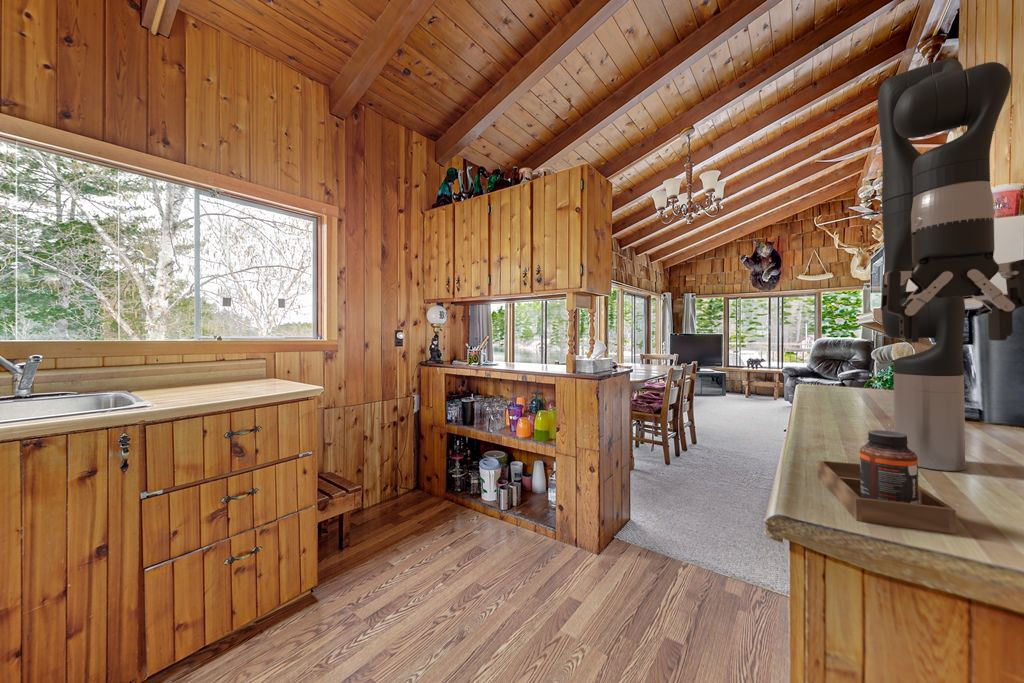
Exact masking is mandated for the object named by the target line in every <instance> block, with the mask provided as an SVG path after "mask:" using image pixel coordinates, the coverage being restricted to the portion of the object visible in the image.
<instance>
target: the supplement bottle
mask: <svg viewBox="0 0 1024 683" xmlns="http://www.w3.org/2000/svg"><path fill="white" fill-rule="evenodd" d="M867 433H868V434H867V436H868V437H867V440H868V441H867V443H865V444H863V445H862V446H860V448H859V449H860V450H859V464H860V480H861V481H860V482H861V498H868V499H877V500H885V501H894V502H903V503H911V504H919V496H918V495H919V492H918V485H919V467H918V459H917V455H916V454H915V453H914V452H913V451H911V450H909V449H908V447H907V444H908V442H907V435H905V434H903V433H899V432H895V431H892V430H891V431H890V430H880V429H877V430H876V429H875V430H874V429H873V430H869V431H868V432H867Z"/></svg>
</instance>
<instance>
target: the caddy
mask: <svg viewBox="0 0 1024 683" xmlns="http://www.w3.org/2000/svg"><path fill="white" fill-rule="evenodd" d="M817 478H818V479H819V480H820V481H821V482H822V483H823V484H824V485H825V487H826V488H827V489H828V490H829V491H830V493H832V494H833V496H834V497H835V498H836V499H837V500H838V501H839V502H840V503H841V505H842V506H843V508H845V509H846V511H848V513H849V514H850V515H851V516H852V518H854V519H855V521H858V522H865V523H871V524H881V525H887V526H895V527H902V528H907V529H908V528H911V529H915V530H926V531H934V532H937V533H939V532H940V533H947V534H954V535H956V534H957V523H956V522H957V520H956V519H957V518H956V515H957V514H956V513H957V512H956V509H955V508H953V507H951V505H948V504H947V503H945V502H944V501H943V500H941V499H940V498H938V497H937V496H935V495H933V494H932V493H931V492H929V491H927V490H926V489H924V488H923V487H922V486H920V485H919V484H918V492H919V495H918V496H919V504H911V503H903V502H894V501H885V500H877V499H868V498H861V482H860V481H861V480H860V463H854V462H842V461H831V460H821V459H820V460H819V459H817Z"/></svg>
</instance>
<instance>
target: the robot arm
mask: <svg viewBox="0 0 1024 683" xmlns="http://www.w3.org/2000/svg"><path fill="white" fill-rule="evenodd" d="M963 67H964V66H963V65H962V63H961V62H960V61H959V60H958V59H955V58H944V59H940V60H936V61H933V62H931V63H927V64H925V65H922V66H919V67H915V68H913V69H910V70H907V71H903V72H901V73H898V74H896V75H893V76H890V77H888V78H886V79H884V81H883V82H882V84H881V85H880V87H879V88H878V89H879V90H878V94H877V116H878V124H879V125H878V127H879V137H880V145H881V148H880V149H881V159H882V160H881V161H882V179H881V180H882V184H881V186H882V187H881V219H882V221H881V222H882V234H883V235H882V236H883V254H884V255H883V256H884V257H883V258H884V266H883V274H882V282H881V299H880V300H881V302H880V310H881V325H882V329H883V332H884V334H885V335H886V336H887V337H888V338H890V339H904V341H905V343H909V344H910V343H911V344H912V343H914V344H915V343H919V340H920V339H937V341H936V344H934V345H933V346H931V347H930V348H928V349H926V350H923V351H920V352H917V353H914V354H911V355H905V356H904V355H903V356H901V357H898V358H895V359H894V360H893V364H892V365H893V367H892V368H893V369H892V370H893V371H892V372H893V410H894V411H893V415H894V417H893V418H894V422H893V423H894V432H899V433H903V434H905V435H907V442H908V444H907V447H908V449H909V450H911V451H913V452H914V453H915V454H916V455H917V459H918V468H924V469H930V470H937V471H951V472H952V471H955V472H957V471H958V472H959V471H963V470H965V469H966V423H965V422H966V419H965V418H966V415H965V414H966V413H965V412H966V411H965V379H964V378H965V375H964V372H965V370H964V368H965V367H964V331H965V318H966V302H965V298H967V297H972V298H973V299H974V300H976V301H978V302H980V303H981V304H982V305H984V306H985V307H986V308H987V309H988V310H990V311H991V312H988V313H987V324H988V328H987V330H988V332H987V333H988V334H987V335H988V339H989V341H999V342H1000V341H1006V340H1007V339H1008V337H1009V336H1010V337H1011V335H1012V334H1013V333H1014V331H1013V330H1014V327H1013V313H1014V311H1016V309H1019V308H1020V309H1021V308H1024V259H1017V260H1014V261H1009V262H1003V263H1001V262H1000V263H998V262H996V260H995V257H994V254H995V214H996V211H995V207H994V204H995V203H994V202H995V201H994V195H993V191H992V188H991V169H990V168H991V164H990V163H991V162H990V161H991V159H990V158H991V146H992V141H993V136H994V132H995V129H996V124H997V122H998V119H999V117H1000V115H1001V112H1002V110H1003V107H1004V105H1005V102H1006V99H1007V97H1008V95H1009V92H1010V89H1011V83H1012V74H1011V71H1010V70H1009V69H1008V67H1007V66H1005V65H1004V64H1002V63H1000V62H995V61H991V62H990V61H989V62H983V63H981V64H977V65H974V66H971V67H968V68H963ZM961 127H966V130H965V132H964V133H963V134H962V135H960V136H958V137H956V138H955V139H952V140H951V141H948V142H946V143H943V144H940V145H937V146H936V147H934V148H930V149H929V150H927V151H925V152H923V153H920V152H919V150H918V149H916V147H914V146H913V144H912V142H911V141H910V139H917V138H923V137H927V136H930V135H934V134H937V133H942V132H946V131H950V130H954V129H957V128H961ZM997 273H998V274H999V275H1000V277H1001V278H1002V279H1005V284H1006V291H1007V292H1006V293H1007V297H1006V296H1005V295H1004V294H1003V291H1002V290H1001V288H999V287H997V285H995V284H994V283H993V282H992V281H991V280H992V279H993V278H994V277H995V276H996V275H997ZM909 280H910V281H911V282H912V284H914V285H915V286H916V289H914V290H910V291H907V287H908V282H909Z"/></svg>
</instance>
